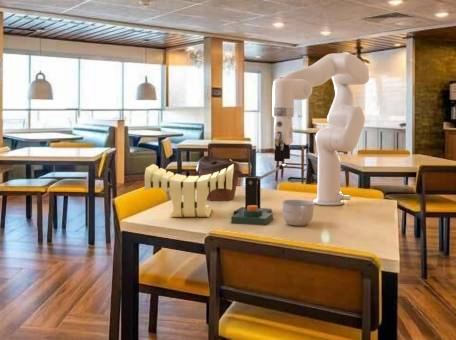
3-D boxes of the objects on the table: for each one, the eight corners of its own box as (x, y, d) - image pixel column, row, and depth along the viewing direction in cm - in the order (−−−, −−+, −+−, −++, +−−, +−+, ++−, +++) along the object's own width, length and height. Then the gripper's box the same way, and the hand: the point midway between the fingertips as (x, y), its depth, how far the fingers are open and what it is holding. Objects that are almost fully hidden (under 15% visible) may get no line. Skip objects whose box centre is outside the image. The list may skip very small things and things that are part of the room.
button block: (272, 219, 192) (272, 208, 191) (264, 225, 182) (264, 213, 182) (240, 217, 194) (240, 206, 194) (231, 223, 185) (231, 211, 184)
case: (240, 202, 223) (240, 159, 220) (192, 201, 223) (191, 158, 221) (246, 195, 240) (246, 155, 238) (201, 194, 240) (201, 154, 238)
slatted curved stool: (145, 219, 189) (144, 168, 187) (154, 210, 204) (153, 163, 202) (231, 218, 192) (231, 169, 189) (233, 209, 207) (233, 163, 205)
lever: (287, 167, 200) (285, 161, 200) (284, 169, 195) (281, 163, 194) (253, 185, 203) (250, 179, 203) (249, 187, 198) (246, 181, 198)
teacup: (281, 220, 189) (282, 198, 188) (312, 220, 190) (312, 198, 189) (283, 230, 176) (283, 205, 175) (316, 229, 177) (316, 205, 176)
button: (258, 210, 189) (259, 205, 189) (255, 212, 186) (255, 207, 185) (249, 209, 190) (249, 204, 190) (245, 211, 186) (245, 206, 186)
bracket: (271, 211, 205) (271, 175, 203) (264, 216, 196) (265, 179, 194) (241, 210, 207) (241, 174, 206) (233, 214, 198) (233, 177, 197)
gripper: (287, 113, 186) (286, 162, 187) (298, 113, 202) (297, 158, 204) (266, 112, 187) (265, 161, 189) (279, 112, 204) (278, 157, 206)
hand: (282, 160), depth 197 cm, fingers open, 9 cm apart
